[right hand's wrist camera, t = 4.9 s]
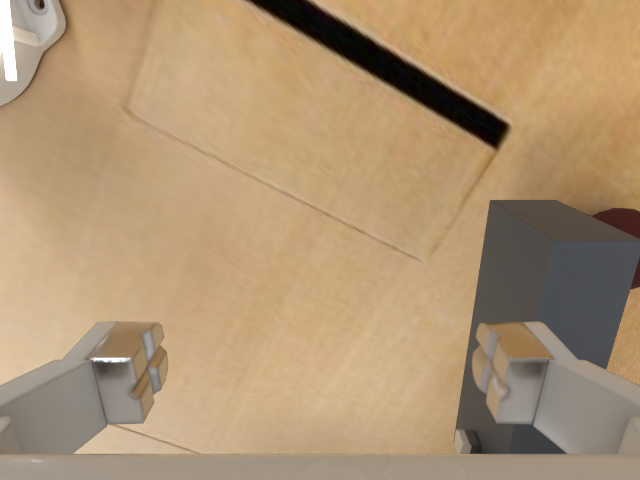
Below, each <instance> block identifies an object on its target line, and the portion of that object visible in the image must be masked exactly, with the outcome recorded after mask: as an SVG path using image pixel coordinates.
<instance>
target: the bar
mask: <svg viewBox="0 0 640 480" xmlns="http://www.w3.org/2000/svg"><path fill="white" fill-rule="evenodd" d="M639 257H640V239H638V238H636V237H634V236H632V235H630V234H628V233H625V232H623V231H621V230H619V229H617V228H615V227H613V226H610V225H608V224H606V223H604V222H602V221H600V220H598V219H595V218H593V217H591V216H589V215H587V214H585V213H582V212H580V211H578V210H576V209H574V208H572V207H570V206H567V205H565V204H563V203H561V202H559V201H557V200H490V204H489V211H488V217H487V224H486V231H485V237H484V244H483V251H482V257H481V264H480V271H479V277H478V284H477V290H476V297H475V304H474V310H473V317H472V324H471V330H470V337H469V344H468V350H467V357H466V363H465V370H464V377H463V383H462V390H461V397H460V403H459V410H458V417H457V423H456V430H457V429H458V430H463V429H464V430H475V432H476V434H477V435H476V436H477V437H478V438H479V440H480V442H481V451H480V453H479V454H567V453H566V452H565V451H563V450H562V449H561V448H560V447H558V446H557V445H556V444H555V443H553V442H552V441H551V440H550V439H549V438H547V437H546V436H545V435H544V434H542V433H541V432H540V431H539V430H537V429H536V428H535V427H534V426H533V424H500V423H496V421H495V419H494V417H493V415H492V413H491V412H490V410H489V408H488V406H487V404H486V398H487V394H485V393H484V392H482V391H481V390H479V389H478V386H477V384H476V382H475V379H474V376H473V370H472V358H473V352H474V351H475V350H476V349H477V348H478V347H479V345H480V343H479V342H478V340H477V338H476V333H477V328H478V326H479V324H480V323H505V322H533V321H540V322H542V323H544V324H545V325H546V326H547V327H548V328H549V329H550V330H551V331H552V332H553V333H554V334H555V336H556V337H557V338H558V339H559V340H560V341H561V342H562V343H563V344H564V345H565V346H566V347H567V348H568V349H569V350H570V351H571V353H572V354H573V355H574V356H575V357H576V358H577V359H578V360H586V361H588V362H591V363H593V364H595V365H597V366H599V367H601V368H603V369H605V370H606V368H607V365H608V362H609V358H610V355H611V352H612V348H613V345H614V341H615V338H616V335H617V331H618V328H619V325H620V321H621V318H622V315H623V311H624V308H625V304H626V301H627V298H628V294H629V291H630V288H631V284H632V281H633V277H634V274H635V271H636V267H637V264H638V261H639ZM456 430H455V432H456ZM454 439H455V436H454Z"/></svg>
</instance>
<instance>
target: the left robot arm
mask: <svg viewBox="0 0 640 480" xmlns="http://www.w3.org/2000/svg"><path fill="white" fill-rule="evenodd" d="M476 435H477V434H476V432H475V430H464V429H463V430H458V429H457V430H456V432H455V439H454V443H455V448H456V451H457V453H458V454H479V453H480V451H481V442H480V440H479V438H478V437H477V436H476Z"/></svg>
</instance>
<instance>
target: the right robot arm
mask: <svg viewBox="0 0 640 480" xmlns="http://www.w3.org/2000/svg"><path fill="white" fill-rule="evenodd" d="M43 1H44V3H45V7H44V8H43V9H41V7H40V4H39V3H40V0H0V106H2V105H5V104H7V103H9V102H10V101H12V100H14V99H15V98H16V97H18V96H19V95H20V94H21V93H22V92H23V91H24V90H25V89H26V87H27V86H28V85H29V83H30V82H31V80H32V78H33V76H34V74H35V72H36V69H37V66H38V64H39V61H40V59H41V57H42V55H43V53H44V52H45V50H47V49H48V48H49V47H50V46H51V45H53V44H54V43H55V42H56V41H57V40H58V39H59V38H60V37H61V36H62V35H63V33H64V31H65V29H66V19H65V16H64V13H63V10H62V8H61V5H60V2H59V0H43ZM163 338H164V333H163V328H162V325H161V324H160V323H159V322H118V321H114V322H98V323H96V324H95V325H94V326H93V327H92V328H91V329H90V330H89V331H88V332H87V333H86V335H85V336H84V337H83V338H82V339H81V340H80V341H79V342H78V343H77V344H76V345H75V346H74V347H73V348H72V349H71V350H70V351H69V353H68V354H67V355H66V356H65V357H64V358H63V359H62V360H54V361H52V362H49V363H47V364H45V365H43V366H41V367H39V368H37V369H34V370H32V371H30V372H28V373H26V374H24V375H22V376H20V377H17V378H15V379H13V380H11V381H9V382H7V383H5V384H2V385H0V480H640V385H637V384H635V383H633V382H631V381H629V380H627V379H625V378H623V377H620V376H618V375H616V374H614V373H612V372H610V371H608V370H605V369H603V368H601V367H599V366H597V365H595V364H593V363H591V362H588V361H586V360H578V359H577V358H576V357H575V356H574V355H573V354H572V353H571V351H570V350H569V349H568V348H567V347H566V346H565V345H564V344H563V343H562V342H561V341H560V340H559V339H558V338H557V337H556V336H555V334H554V333H553V332H552V331H551V330H550V329H549V328H548V327H547V326H546V325H545V324H544V323H542V322H540V321H533V322H505V323H480V324H479V326H478V328H477V333H476V338H477V340H478V342H479V343H480V345H479V347H478V348H477V349H476V350H475V351H474V352H473V358H472V370H473V376H474V379H475V382H476V384H477V386H478V389H479V390H481V391H482V392H484V393H485V394H487V398H486V404H487V406H488V408H489V410H490V412H491V413H492V415H493V417H494V419H495V421H496V423H500V424H533V426H534V427H535V428H536V429H537V430H539V431H540V432H541V433H542V434H544V435H545V436H546V437H547V438H549V439H550V440H551V441H552V442H553V443H555V444H556V445H557V446H558V447H560V448H561V449H562V450H563V451H565V452H566V453H567V454H73V453H74V452H76V451H77V450H78V449H79V448H80V447H82V446H83V445H84V444H85V443H87V442H88V441H89V440H90V439H92V438H93V437H94V436H95V435H97V434H98V433H99V432H100V431H102V430H103V429H104V428H105V427H107V425H106V424H139V423H144V421H145V419H146V417H147V415H148V413H149V412H150V410H151V408H152V406H153V404H154V398H153V394H155V393H156V392H158V391H159V390H161V389H162V386H163V384H164V382H165V380H166V375H167V371H168V357H167V352H166V351H165V350H164V349H163V348H162V347H161V345H160V344H161V342H162V340H163Z"/></svg>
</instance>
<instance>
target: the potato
mask: <svg viewBox="0 0 640 480" xmlns="http://www.w3.org/2000/svg"><path fill="white" fill-rule="evenodd" d="M592 217H593V218H595V219H598V220H600V221H602V222H604V223H606V224H608V225H610V226H613V227H615V228H617V229H619V230H621V231H623V232H625V233H628V234H630V235H632V236H634V237H636V238H638V239H640V212H639V211H637V210H635V209H623V208H613V209H609V210H606V211H603V212H600V213H597V214H595V215H593V216H592ZM638 287H640V257H639V261H638V264H637V267H636V271H635V274H634V277H633V281H632V284H631V288H630V289H634V288H638Z"/></svg>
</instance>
